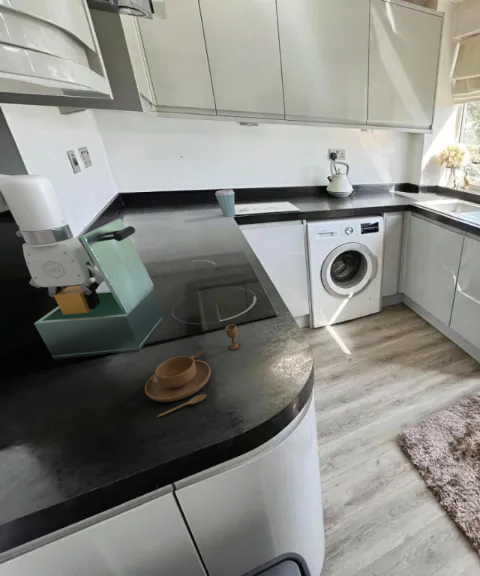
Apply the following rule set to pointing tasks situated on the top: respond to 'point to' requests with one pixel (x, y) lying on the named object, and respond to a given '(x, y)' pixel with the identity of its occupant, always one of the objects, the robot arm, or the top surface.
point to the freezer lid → (118, 263)
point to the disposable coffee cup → (226, 201)
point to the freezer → (100, 328)
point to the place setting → (183, 377)
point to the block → (72, 300)
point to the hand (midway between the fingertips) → (81, 307)
